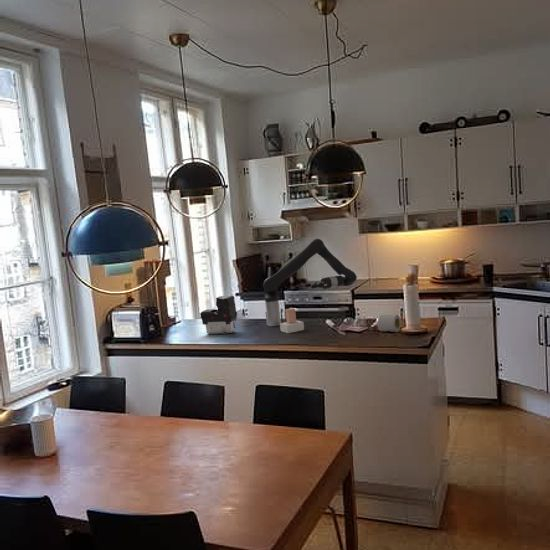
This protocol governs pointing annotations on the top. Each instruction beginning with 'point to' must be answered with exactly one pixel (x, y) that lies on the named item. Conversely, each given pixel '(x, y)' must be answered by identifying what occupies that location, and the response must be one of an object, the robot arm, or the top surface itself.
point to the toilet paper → (389, 323)
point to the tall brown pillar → (290, 315)
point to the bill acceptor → (220, 316)
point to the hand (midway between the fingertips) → (308, 286)
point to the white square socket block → (292, 326)
